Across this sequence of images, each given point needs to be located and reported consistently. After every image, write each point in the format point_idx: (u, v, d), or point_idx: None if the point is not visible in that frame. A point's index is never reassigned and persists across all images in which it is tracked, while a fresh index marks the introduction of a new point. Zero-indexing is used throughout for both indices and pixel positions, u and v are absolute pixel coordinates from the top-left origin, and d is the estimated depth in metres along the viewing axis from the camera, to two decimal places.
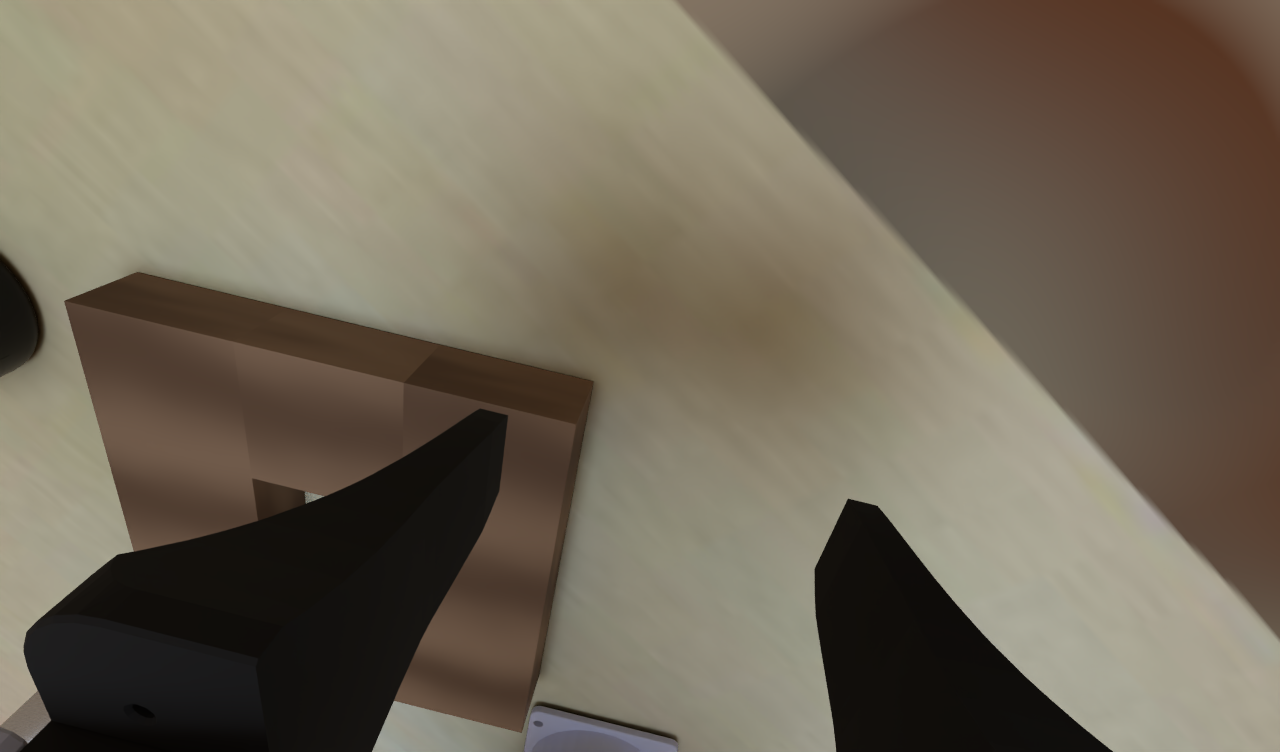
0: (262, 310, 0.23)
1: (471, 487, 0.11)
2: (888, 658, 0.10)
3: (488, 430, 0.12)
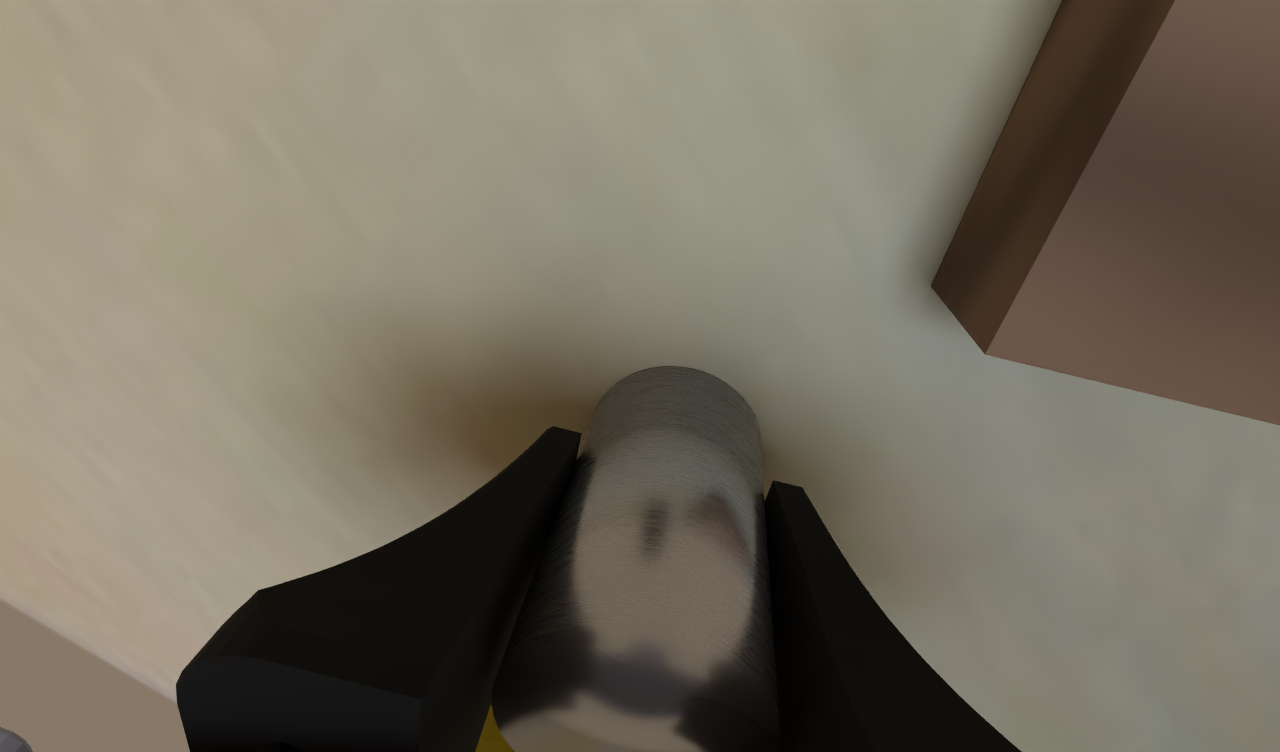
0: None
1: (553, 507, 0.11)
2: (791, 634, 0.10)
3: (568, 450, 0.12)
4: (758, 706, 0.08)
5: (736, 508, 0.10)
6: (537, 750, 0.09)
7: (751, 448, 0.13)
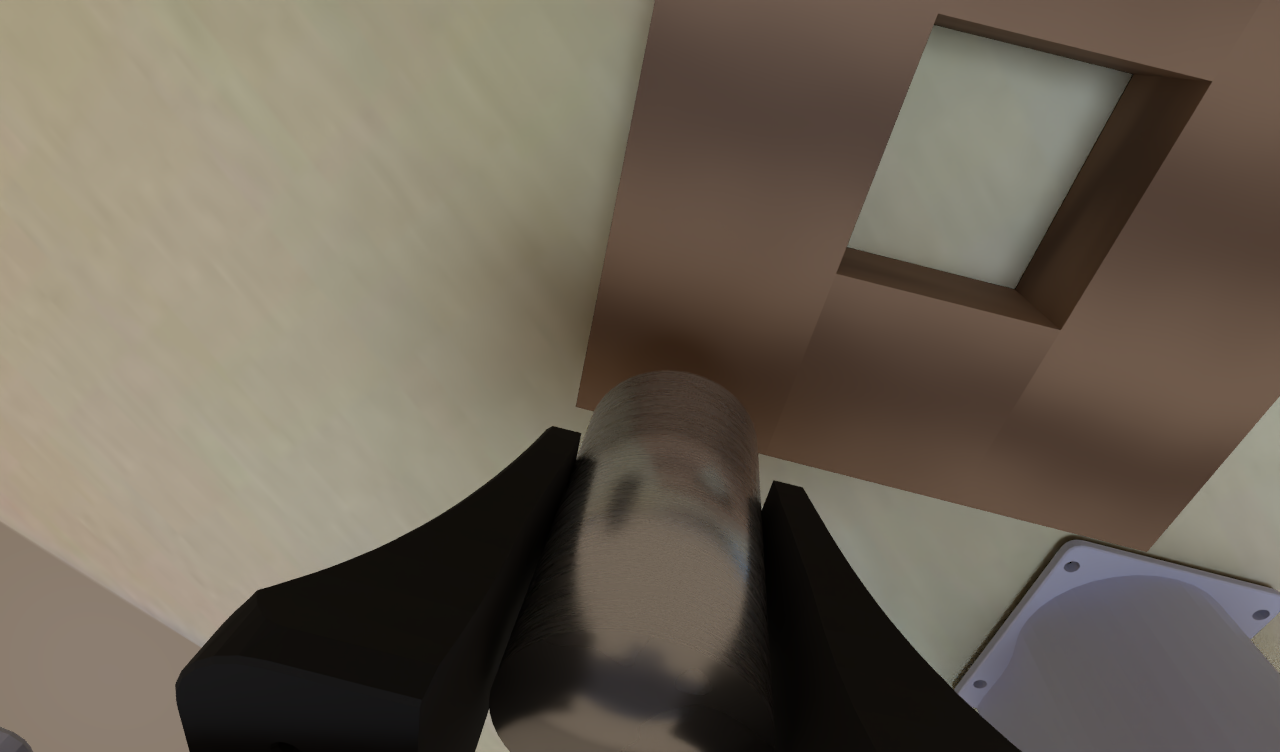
0: None
1: (552, 507, 0.11)
2: (792, 634, 0.10)
3: (567, 449, 0.12)
4: (756, 716, 0.08)
5: (738, 518, 0.11)
6: (530, 748, 0.09)
7: (751, 457, 0.13)
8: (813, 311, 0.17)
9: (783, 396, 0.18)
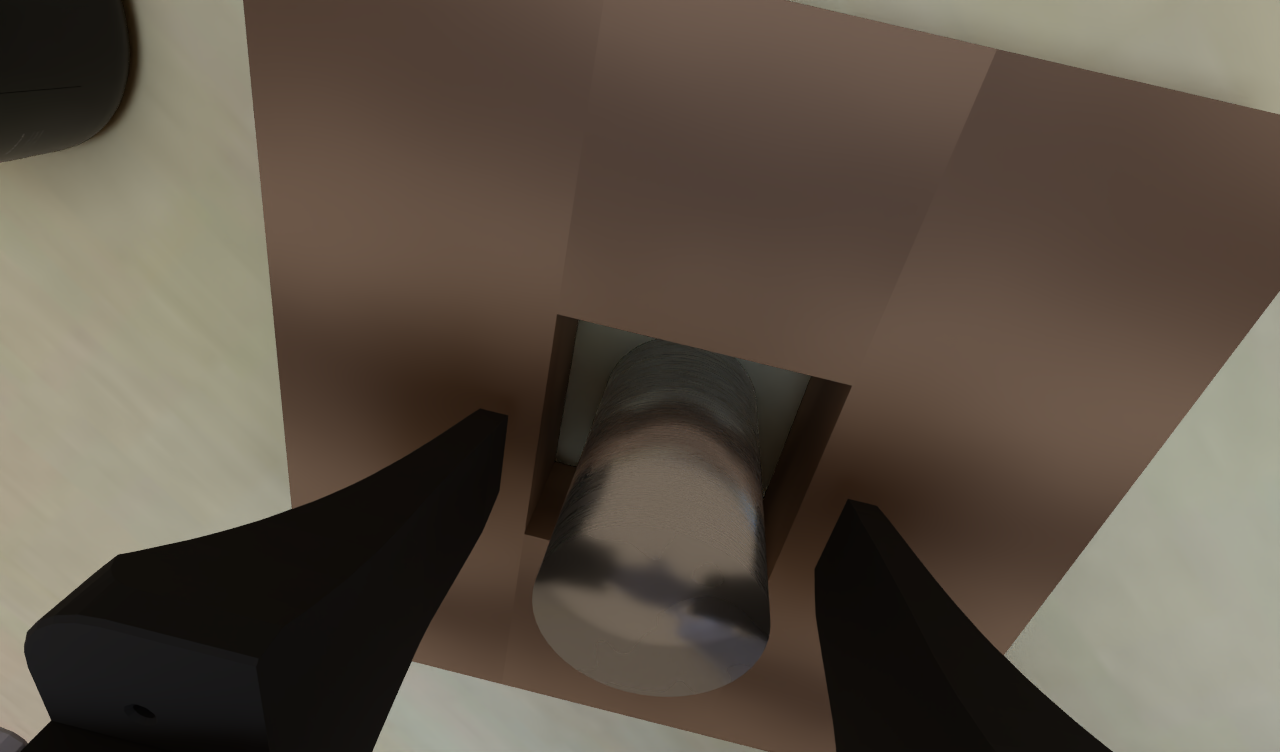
0: None
1: (471, 487, 0.11)
2: (888, 658, 0.10)
3: (488, 430, 0.12)
4: (756, 606, 0.10)
5: (743, 457, 0.12)
6: (562, 635, 0.11)
7: (753, 414, 0.15)
8: (511, 565, 0.16)
9: (504, 635, 0.17)
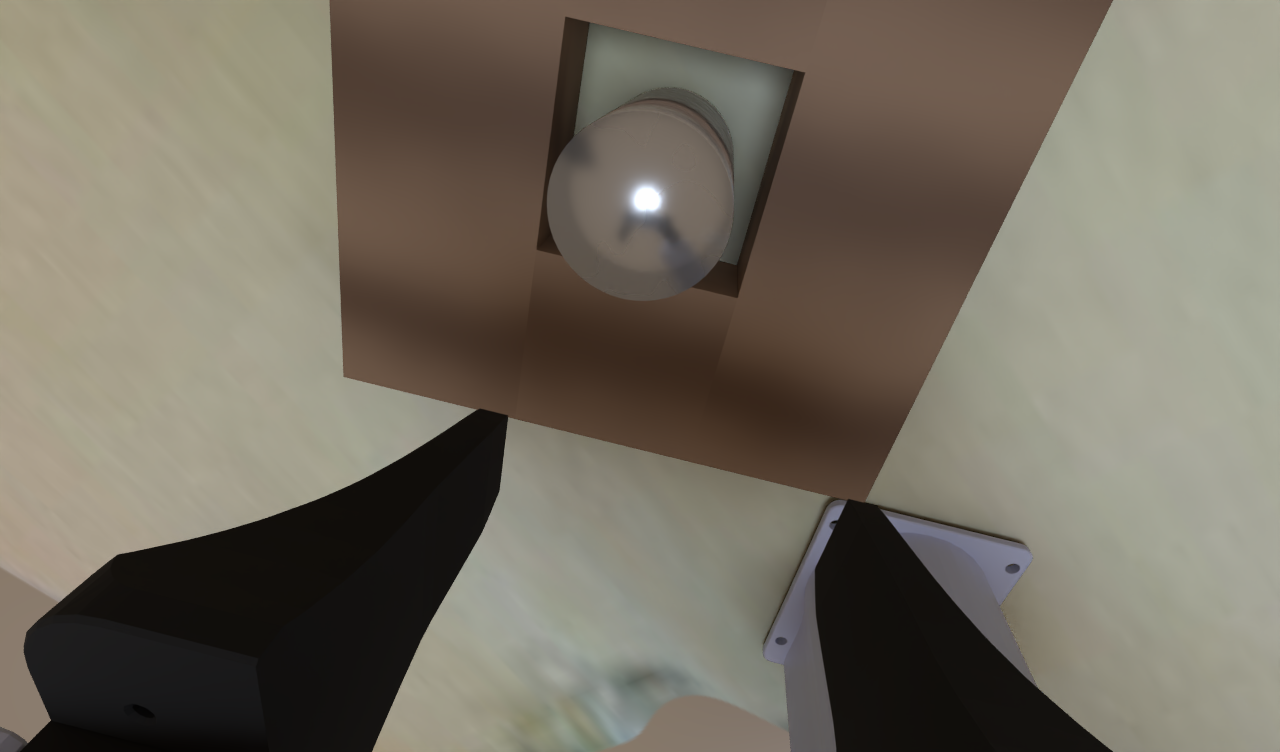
0: None
1: (471, 487, 0.11)
2: (888, 658, 0.10)
3: (488, 430, 0.12)
4: (722, 188, 0.13)
5: (717, 130, 0.15)
6: (570, 239, 0.14)
7: (728, 136, 0.17)
8: (525, 284, 0.19)
9: (518, 363, 0.20)
